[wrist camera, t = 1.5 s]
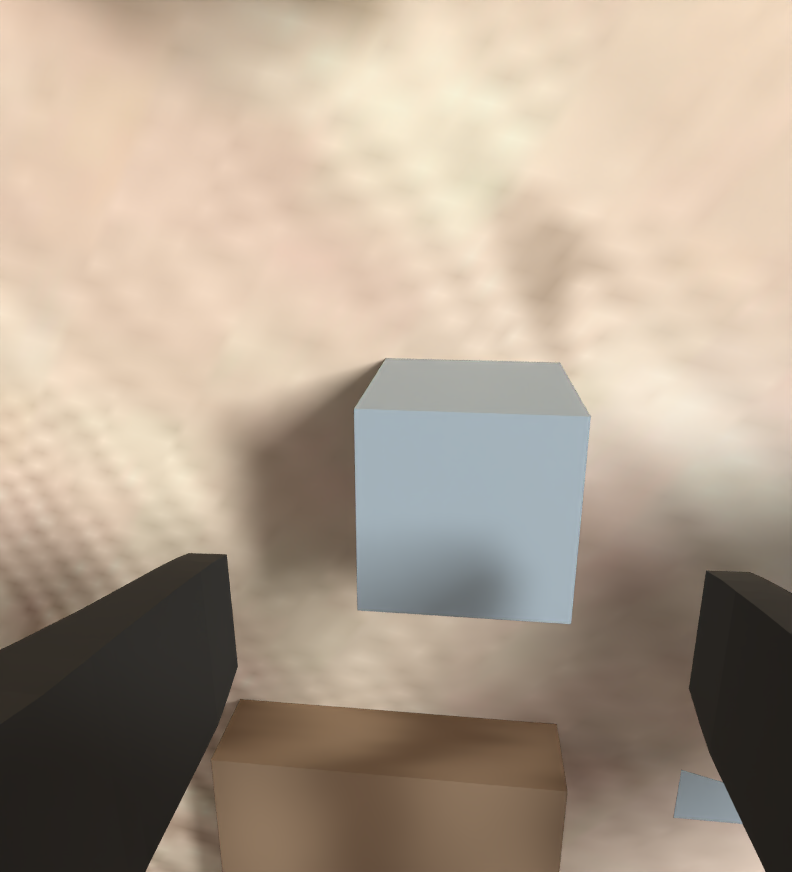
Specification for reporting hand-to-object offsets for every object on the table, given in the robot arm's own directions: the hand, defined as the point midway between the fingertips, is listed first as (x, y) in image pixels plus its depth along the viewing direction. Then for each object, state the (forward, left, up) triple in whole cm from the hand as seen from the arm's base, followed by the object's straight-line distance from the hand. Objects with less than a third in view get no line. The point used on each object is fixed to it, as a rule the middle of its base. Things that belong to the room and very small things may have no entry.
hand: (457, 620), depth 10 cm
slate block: (0, 0, -9) cm, 9 cm away
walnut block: (+2, +14, -9) cm, 17 cm away
